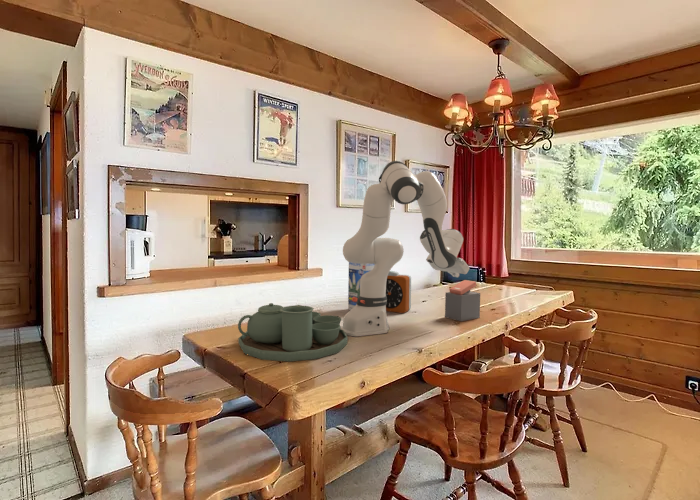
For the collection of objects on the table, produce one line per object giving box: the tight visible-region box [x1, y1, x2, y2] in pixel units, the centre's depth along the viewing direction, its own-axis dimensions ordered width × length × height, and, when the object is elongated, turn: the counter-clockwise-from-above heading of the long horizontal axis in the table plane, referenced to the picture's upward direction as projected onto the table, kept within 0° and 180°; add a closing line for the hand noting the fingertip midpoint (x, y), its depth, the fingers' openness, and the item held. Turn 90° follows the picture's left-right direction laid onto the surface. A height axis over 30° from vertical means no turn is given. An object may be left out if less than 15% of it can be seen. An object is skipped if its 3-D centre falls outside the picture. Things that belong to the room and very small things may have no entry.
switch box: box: [444, 290, 481, 322], centre depth 197 cm, size 13×10×12 cm
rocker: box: [449, 279, 477, 295], centre depth 196 cm, size 11×7×4 cm, turn 123°
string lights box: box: [347, 262, 375, 311], centre depth 210 cm, size 13×8×26 cm, turn 42°
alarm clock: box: [386, 270, 412, 314], centre depth 212 cm, size 18×9×21 cm, turn 62°
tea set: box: [237, 302, 349, 362], centre depth 153 cm, size 40×40×16 cm
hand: (456, 276), depth 194 cm, fingers closed
